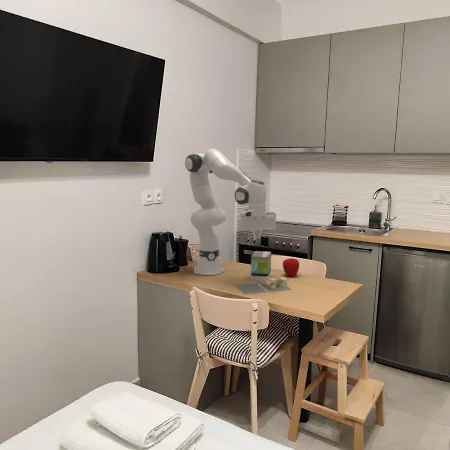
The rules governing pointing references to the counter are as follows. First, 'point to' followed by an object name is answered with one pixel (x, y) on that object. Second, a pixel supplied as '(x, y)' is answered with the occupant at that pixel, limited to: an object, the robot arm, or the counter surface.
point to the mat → (257, 288)
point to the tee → (273, 283)
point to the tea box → (260, 265)
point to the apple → (291, 267)
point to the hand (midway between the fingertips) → (256, 238)
